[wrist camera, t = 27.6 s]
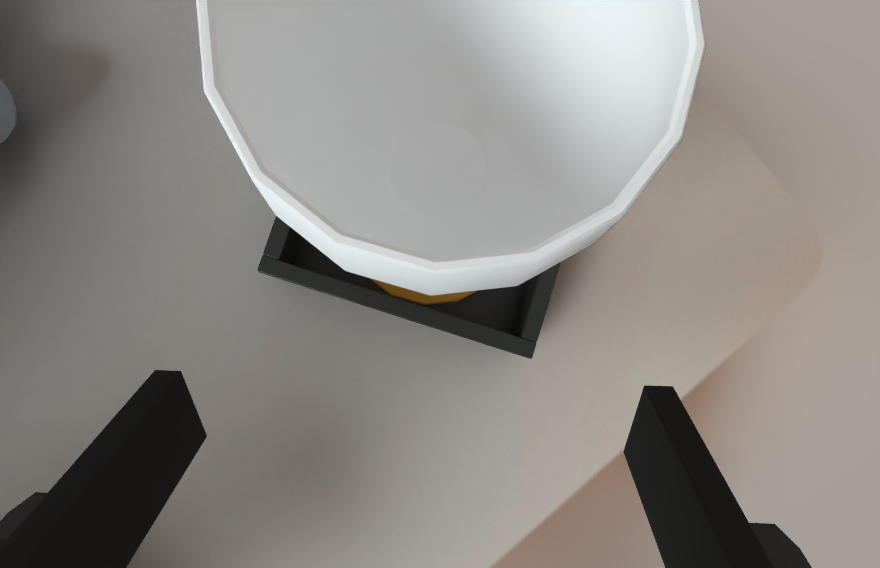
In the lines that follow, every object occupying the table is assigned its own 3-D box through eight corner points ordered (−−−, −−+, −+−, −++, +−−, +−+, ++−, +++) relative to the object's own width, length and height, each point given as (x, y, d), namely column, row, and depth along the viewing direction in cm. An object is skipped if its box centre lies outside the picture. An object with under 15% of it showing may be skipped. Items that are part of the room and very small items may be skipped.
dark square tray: (517, 352, 24) (532, 359, 21) (277, 276, 23) (256, 271, 20) (588, 121, 24) (611, 94, 21) (357, 44, 24) (348, 6, 21)
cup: (307, 206, 23) (48, -28, 7) (442, 98, 24) (487, -346, 8) (421, 341, 23) (422, 419, 7) (553, 229, 23) (837, 59, 7)
